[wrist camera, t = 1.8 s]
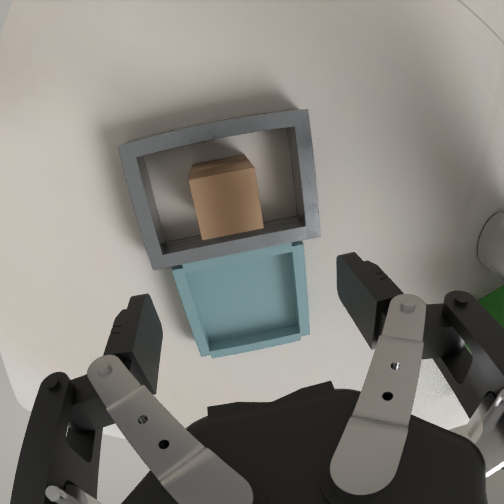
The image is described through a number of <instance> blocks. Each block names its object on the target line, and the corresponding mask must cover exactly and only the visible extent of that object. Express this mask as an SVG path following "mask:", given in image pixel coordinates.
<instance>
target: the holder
mask: <svg viewBox="0 0 504 504" xmlns="http://www.w3.org/2000/svg"><path fill="white" fill-rule="evenodd" d="M286 127H287V131H288V138H289V146H290V153H291V161H292V169H293V177H294V186H295V195H296V204H297V213H298V216H295V217H290V218H284V219H279V220H274V221H268V222H263V226H264V228H262V229H257V230H252V231H247V232H242V233H237V234H232V235H227V236H222V237H217V238H212V239H207V240H202V237H201V235H198V236H193V237H188V238H183V239H179V240H174V241H169V242H166V240H165V237H164V233H163V230H162V226H161V222H160V219H159V215H158V211H157V208H156V204H155V200H154V196H153V192H152V188H151V184H150V180H149V176H148V172H147V168H146V164H145V160H144V155H147V154H150V153H154V152H158V151H163V150H167V149H171V148H175V147H180V146H184V145H188V144H193V143H198V142H203V141H208V140H213V139H218V138H223V137H228V136H234V135H240V134H246V133H252V132H258V131H265V130H271V129H278V128H286ZM118 149H119V153H120V157H121V161H122V166H123V170H124V173H125V177H126V181H127V185H128V189H129V192H130V196H131V200H132V203H133V207H134V210H135V214H136V217H137V221H138V224H139V227H140V231H141V234H142V237H143V240H144V244H145V247H146V250H147V253H148V256H149V259H150V262H151V265H152V268H153V270H157V269H162V268H167V267H172V266H176V265H181V264H186V263H191V262H196V261H201V260H206V259H211V258H216V257H221V256H226V255H231V254H236V253H241V252H246V251H251V250H256V249H261V248H266V247H271V246H276V245H281V244H286V243H291V242H297V241H302V240H307V239H312V238H317V237H321V236H320V221H319V208H318V196H317V185H316V175H315V165H314V155H313V146H312V138H311V130H310V122H309V114H308V109H295V110H286V111H278V112H271V113H263V114H256V115H250V116H243V117H237V118H231V119H226V120H220V121H215V122H210V123H205V124H200V125H195V126H190V127H186V128H181V129H177V130H173V131H168V132H164V133H160V134H156V135H152V136H148V137H145V138H141V139H137V140H134V141H130V142H126V143H124V144H122V145H120V146H118Z"/></svg>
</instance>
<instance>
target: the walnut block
mask: <svg viewBox="0 0 504 504" xmlns="http://www.w3.org/2000/svg"><path fill="white" fill-rule="evenodd" d="M189 185H190V189H191V194H192V198H193V202H194V207H195V211H196V215H197V220H198V224H199V228H200V232H201V237H202V240H207V239H212V238H217V237H222V236H227V235H232V234H237V233H242V232H247V231H252V230H257V229H262V228H264V226H263V219H262V213H261V206H260V200H259V194H258V187H257V181H256V174H255V168H254V166H253V165H252V164H251V162H250V161H249V160H248V159H247V157H246V156H245V155H238V156H233V157H228V158H222V159H217V160H212V161H207V162H202V163H198V164H193V166H192V170H191V173H190V177H189Z"/></svg>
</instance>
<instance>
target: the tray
mask: <svg viewBox="0 0 504 504" xmlns="http://www.w3.org/2000/svg"><path fill="white" fill-rule="evenodd" d="M172 273H173V276H174V279H175V282H176V285H177V289H178V292H179V295H180V298H181V301H182V304H183V307H184V310H185V313H186V315H187V318H188V321H189V324H190V327H191V330H192V333H193V335H194V338H195V341H196V344H197V346H198V349H199V352H200V355H201V356H207V355H211V357H212V358H216V357H222V356H228V355H233V354H238V353H244V352H249V351H254V350H259V349H263V348H268V347H273V346H277V345H282V344H286V343H291V342H295V341H299V340H301V336H305V335H309V334H310V326H309V309H308V295H307V281H306V268H305V256H304V245H303V243H302V241H297V242H291V243H286V244H281V245H276V246H271V247H266V248H261V249H256V250H251V251H246V252H241V253H236V254H231V255H226V256H221V257H216V258H211V259H206V260H201V261H196V262H191V263H186V264H181V265H176V266H173V267H172Z"/></svg>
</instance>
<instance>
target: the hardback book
mask: <svg viewBox="0 0 504 504" xmlns="http://www.w3.org/2000/svg"><path fill="white" fill-rule="evenodd" d="M478 302H479V303H480V304H481V305H482V306H483V307H484V308H485V309H486V310H487V311H488V312H489V313H490V314H491V315H492V316H493V318H494V319H495V320H496V321H497V322H498V323H499V324H500V325H501V326H502V327H503V329H504V285H503V286H502V287H500V288H498V289H497V290H495V291H494V292H492V293H490V294H489V295H487V296H485V297H483V298H482V299H480V300H478ZM464 345H465V346H466V347H467V348H468V349H469V351H470V352H471V350H470V348H469V347H468V346H467V345H466V343H465V344H464ZM471 353H472V352H471Z"/></svg>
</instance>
